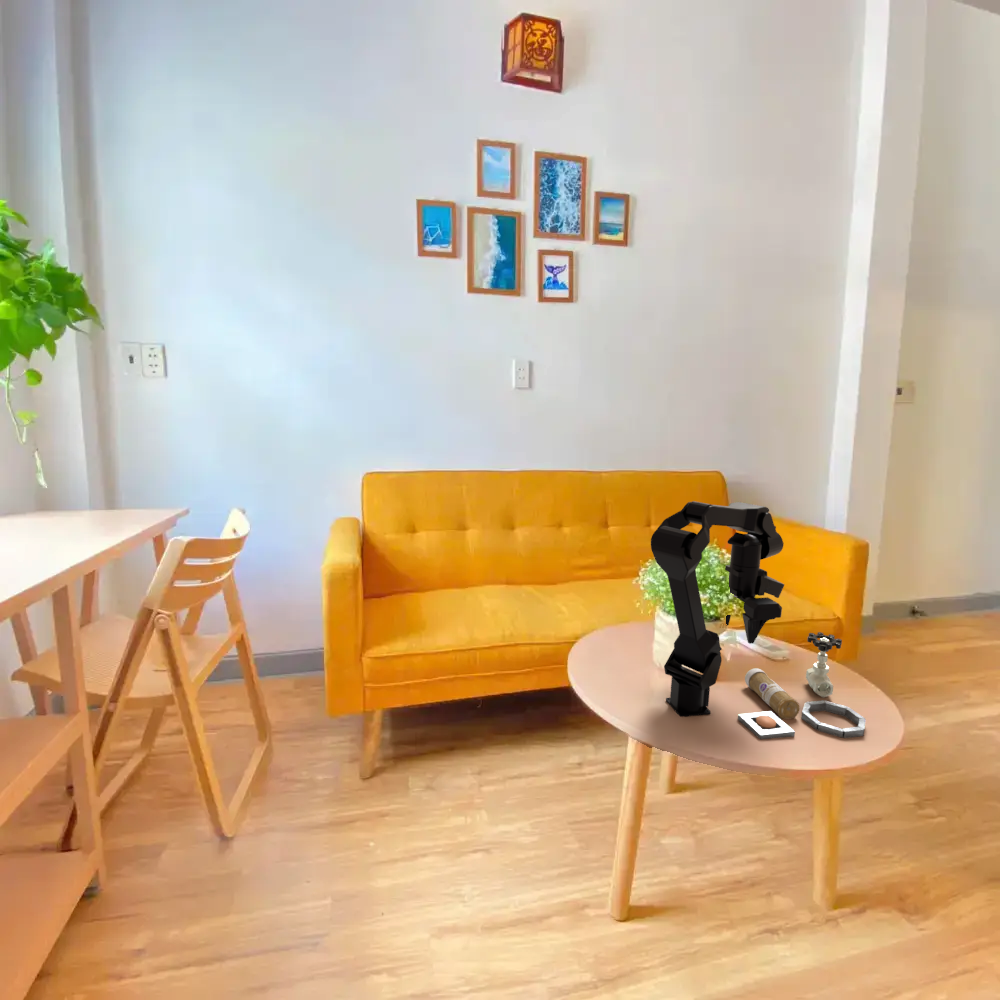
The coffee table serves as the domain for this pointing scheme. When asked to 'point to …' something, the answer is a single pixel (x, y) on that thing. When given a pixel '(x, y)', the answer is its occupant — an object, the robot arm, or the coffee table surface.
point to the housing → (777, 732)
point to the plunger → (765, 722)
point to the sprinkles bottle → (772, 694)
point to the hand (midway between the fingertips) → (737, 633)
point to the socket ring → (834, 709)
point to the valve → (821, 664)
